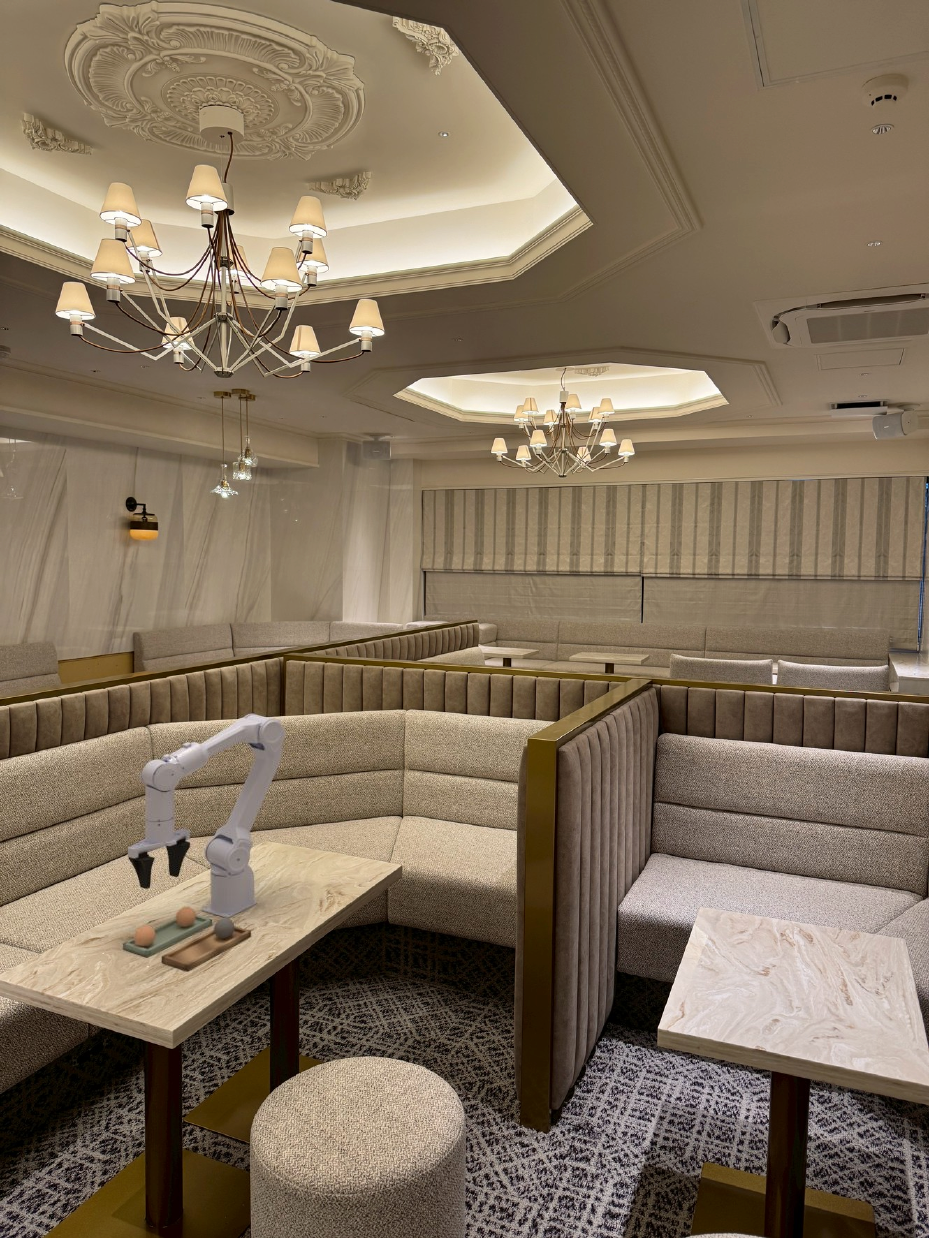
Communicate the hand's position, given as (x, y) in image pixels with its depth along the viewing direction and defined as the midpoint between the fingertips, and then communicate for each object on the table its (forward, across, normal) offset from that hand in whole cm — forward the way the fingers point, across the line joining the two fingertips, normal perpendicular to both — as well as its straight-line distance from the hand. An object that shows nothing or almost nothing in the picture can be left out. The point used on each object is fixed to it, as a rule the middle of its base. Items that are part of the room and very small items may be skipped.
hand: (159, 881), depth 170 cm
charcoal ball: (+8, +3, -15) cm, 17 cm away
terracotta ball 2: (+8, +3, -4) cm, 9 cm away
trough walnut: (+10, -1, -15) cm, 18 cm away
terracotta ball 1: (+8, -7, -4) cm, 12 cm away
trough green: (+10, -1, -4) cm, 11 cm away
